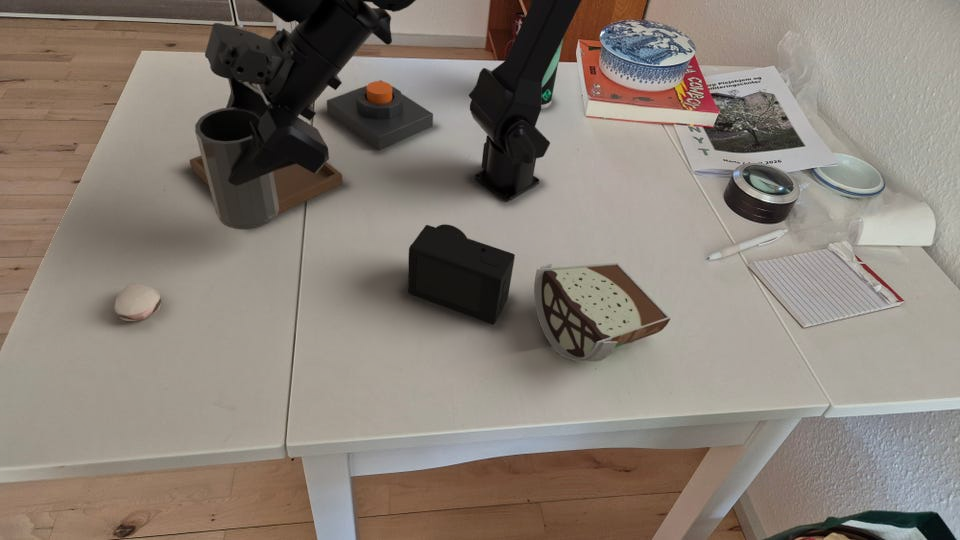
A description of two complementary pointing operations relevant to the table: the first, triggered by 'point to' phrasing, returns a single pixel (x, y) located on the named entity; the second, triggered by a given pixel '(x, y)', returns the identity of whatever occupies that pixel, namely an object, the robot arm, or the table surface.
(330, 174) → the tray
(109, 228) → the table surface
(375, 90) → the timer button
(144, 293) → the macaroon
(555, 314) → the food container
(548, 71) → the spray can
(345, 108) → the push button switch
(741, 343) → the table surface
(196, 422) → the table surface
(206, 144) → the cup
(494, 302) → the digital camera
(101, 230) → the table surface
